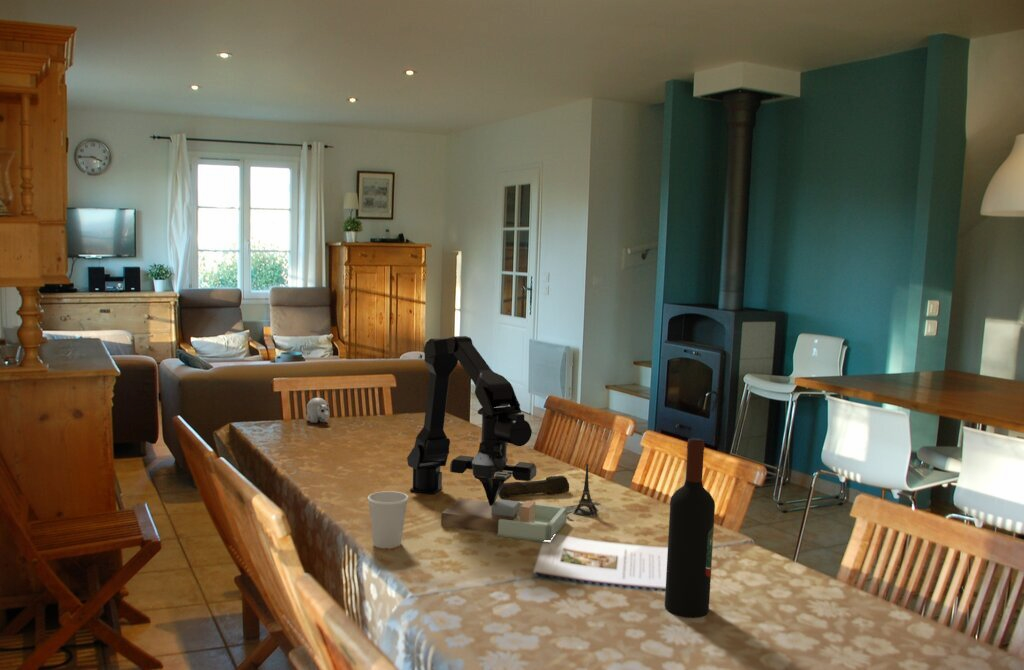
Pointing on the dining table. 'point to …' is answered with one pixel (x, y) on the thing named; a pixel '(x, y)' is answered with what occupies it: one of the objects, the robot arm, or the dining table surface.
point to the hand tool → (536, 487)
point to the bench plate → (472, 516)
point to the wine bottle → (690, 541)
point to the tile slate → (505, 507)
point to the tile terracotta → (528, 512)
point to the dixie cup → (387, 517)
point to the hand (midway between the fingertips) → (491, 505)
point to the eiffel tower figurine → (584, 502)
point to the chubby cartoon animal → (317, 410)
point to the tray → (535, 524)
